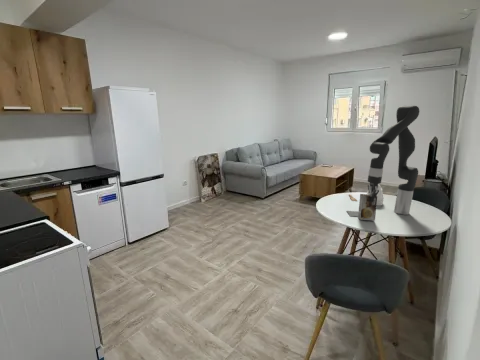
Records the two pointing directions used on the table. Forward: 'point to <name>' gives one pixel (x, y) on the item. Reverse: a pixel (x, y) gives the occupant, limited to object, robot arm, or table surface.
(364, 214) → the coffee box
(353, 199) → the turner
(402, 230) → the table surface
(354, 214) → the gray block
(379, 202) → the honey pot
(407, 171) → the robot arm
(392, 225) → the table surface
